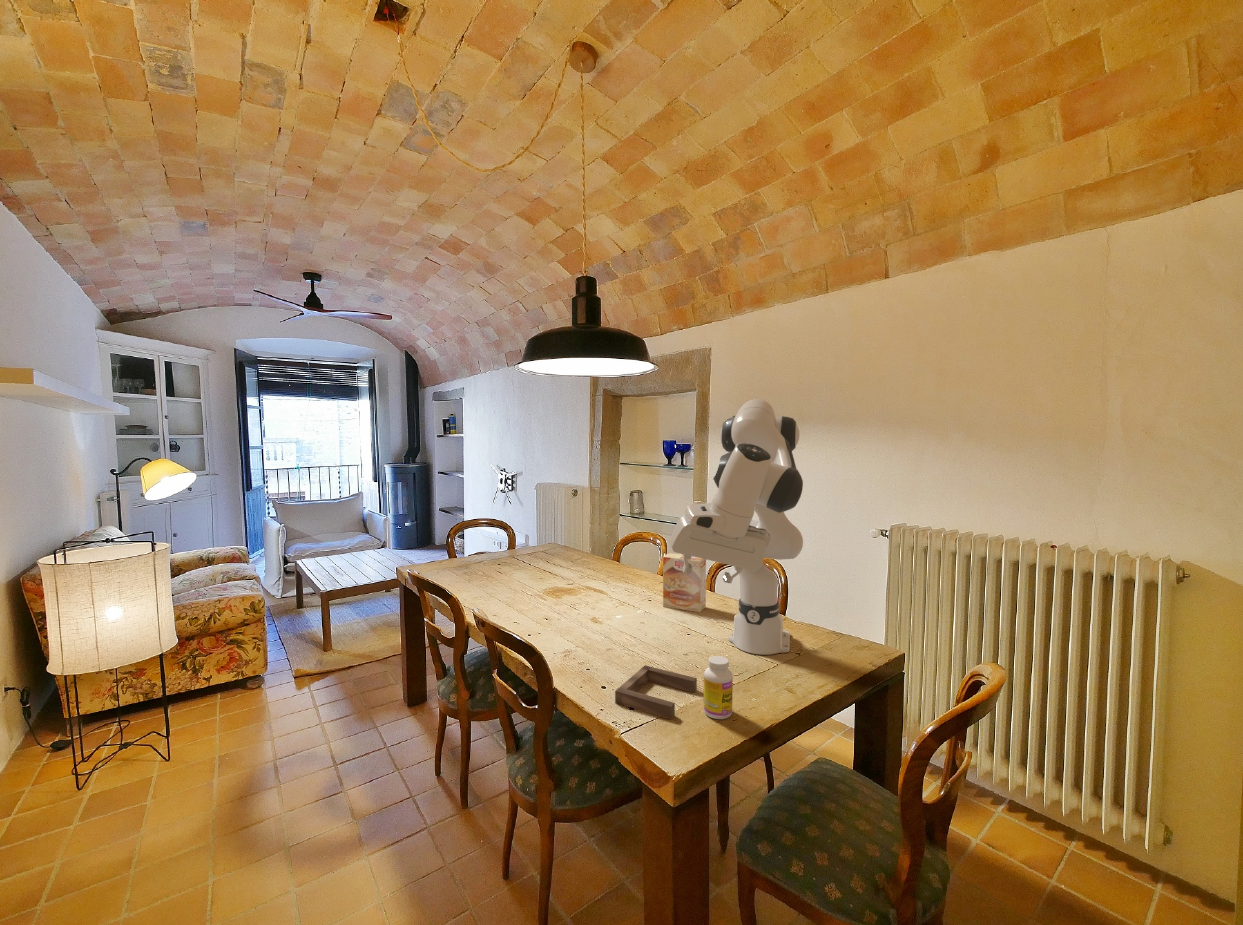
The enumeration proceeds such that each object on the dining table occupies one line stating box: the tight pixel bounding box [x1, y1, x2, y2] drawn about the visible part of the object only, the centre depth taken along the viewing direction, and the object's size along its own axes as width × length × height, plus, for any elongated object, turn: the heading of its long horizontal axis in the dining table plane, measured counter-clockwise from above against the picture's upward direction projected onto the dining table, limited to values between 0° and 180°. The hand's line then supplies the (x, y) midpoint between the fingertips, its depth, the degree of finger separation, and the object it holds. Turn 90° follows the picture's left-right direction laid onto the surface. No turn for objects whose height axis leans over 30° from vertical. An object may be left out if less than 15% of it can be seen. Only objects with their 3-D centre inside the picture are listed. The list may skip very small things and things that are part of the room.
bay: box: [614, 664, 698, 720], centre depth 130 cm, size 16×15×3 cm
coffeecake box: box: [662, 552, 707, 613], centre depth 196 cm, size 15×7×20 cm, turn 64°
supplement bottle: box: [703, 655, 734, 720], centre depth 122 cm, size 7×7×13 cm
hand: (706, 577), depth 111 cm, fingers open, 8 cm apart
